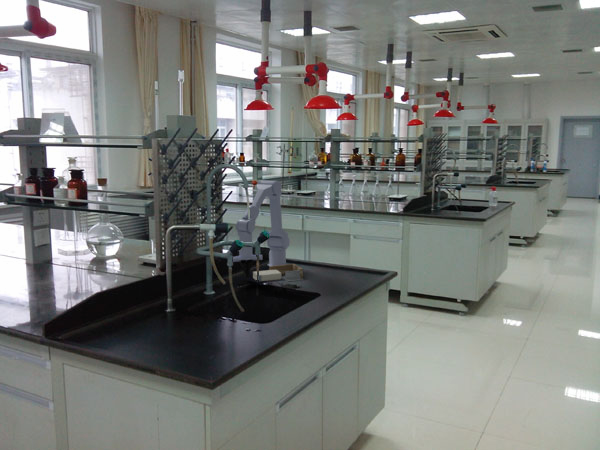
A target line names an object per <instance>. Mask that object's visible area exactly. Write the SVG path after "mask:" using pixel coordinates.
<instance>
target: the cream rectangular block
mask: <svg viewBox="0 0 600 450" xmlns="http://www.w3.org/2000/svg"><path fill="white" fill-rule="evenodd" d="M258 271H259V276H258V280H259V282H266V281H268V282H269V281H276V280H282V274H281V272H279V271H278V270H269V269H267V270H258ZM252 278H253V279H254V280H255V281H256V280H257V270H256V271H252Z"/></svg>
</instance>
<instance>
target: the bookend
mask: <svg viewBox="0 0 600 450" xmlns="http://www.w3.org/2000/svg"><path fill="white" fill-rule="evenodd" d="M284 278H285V279H284V280H286V281H288V282H296V281H303V280H304V278H301V277H300V270H295V271H285V274H284Z"/></svg>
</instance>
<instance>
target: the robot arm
mask: <svg viewBox="0 0 600 450" xmlns="http://www.w3.org/2000/svg"><path fill="white" fill-rule="evenodd" d="M281 197H282V183H281V182H280V181H279V180H267V179H259V180H258V182H257V183H256V193H255V195H254V198H253V201H252V204H250V205H248V206H249V209H250V219H248V207H246V209H245V211H244V213H243V216H242V217H241V218H240V219H238V220H237V222H236V225H235V229H236V232H237V236H238V241H239V240H240V241H243V242H252V243H253V233H254V231H255V229H256V220H257V218H258V216H259V214H260V212H261V211H260V209H259V208H260V207H261V206H262V204H263V203H264V201H265V200H266V198H268V200H269V212H270V226H271V227H270V228H271V230H270V231H269V232H268V233H269V235H270V237H269V239H268V240H266V244H267V247H268V248H269V252H268V259H269V260H268V263H267V266H268V267H269V266H276V265H286V264H287V261H286V260H287V257H286V256H287V255H286V254H287V253H286V252H287V249H288V247H290V243H291V242H290V238H289V234H288V232H287V231H286V230H284V228H283V219H282V204H281V201H282V200H281ZM238 251H239V252H238V253H239V254H238V255H236V256H232V257H233V262H232V263H236V262H238V263H239V264H240V266H241V269H242V272H243V276H244V277H245V278H249V275H250V271H251V269H252V267H253V265H254V261H258V260H257V257H256V255H257V254H253V246H252V247H243V248H242V249H241V250H238ZM258 255H259V260H260V261H262V260H263V254H258Z"/></svg>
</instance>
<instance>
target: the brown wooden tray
mask: <svg viewBox="0 0 600 450" xmlns="http://www.w3.org/2000/svg"><path fill="white" fill-rule="evenodd" d="M268 267H269V268H268V270H278V271H279V272H281V275H285V271H295V270H300V277H301V278H302V279H304V269H303V268H302V267H300V266H299V265H297V264H295V263H286V265H276V266H268Z"/></svg>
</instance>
